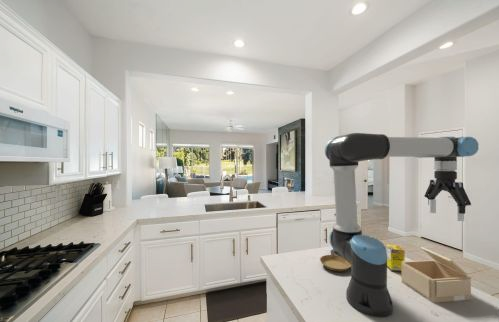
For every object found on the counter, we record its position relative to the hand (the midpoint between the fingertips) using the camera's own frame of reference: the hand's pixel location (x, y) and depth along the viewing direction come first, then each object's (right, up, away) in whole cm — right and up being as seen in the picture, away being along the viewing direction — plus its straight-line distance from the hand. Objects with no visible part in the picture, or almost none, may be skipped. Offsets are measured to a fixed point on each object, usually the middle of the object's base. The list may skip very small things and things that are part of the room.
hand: (445, 216), depth 94 cm
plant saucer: (-46, -29, +11) cm, 55 cm away
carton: (-14, -28, -10) cm, 33 cm away
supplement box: (-18, -29, +8) cm, 34 cm away
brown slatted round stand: (-37, -29, +25) cm, 53 cm away
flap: (-10, -16, -9) cm, 21 cm away
